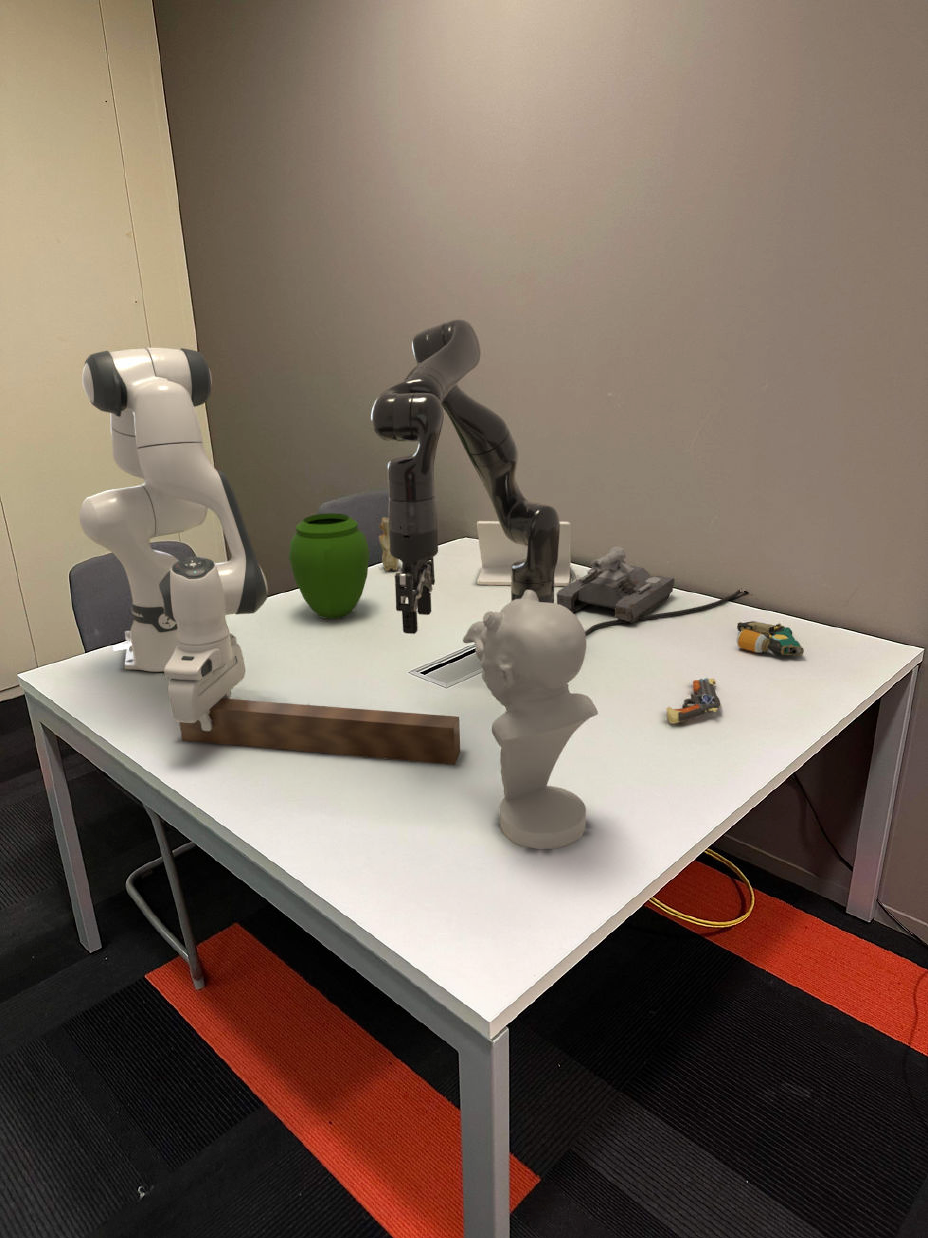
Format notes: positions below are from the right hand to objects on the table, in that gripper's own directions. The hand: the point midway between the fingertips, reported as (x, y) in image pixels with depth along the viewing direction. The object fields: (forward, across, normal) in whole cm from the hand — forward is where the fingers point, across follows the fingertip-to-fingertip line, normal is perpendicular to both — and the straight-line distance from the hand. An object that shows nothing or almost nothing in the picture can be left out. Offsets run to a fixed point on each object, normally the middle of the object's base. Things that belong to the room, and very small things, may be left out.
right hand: (417, 623), depth 138 cm
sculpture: (+24, -103, -38) cm, 112 cm away
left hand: (+21, 0, -39) cm, 44 cm away
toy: (+24, -81, +28) cm, 89 cm away
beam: (+24, 0, -19) cm, 31 cm away
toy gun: (+24, -27, +45) cm, 58 cm away
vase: (+24, -64, -40) cm, 80 cm away
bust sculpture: (+24, +15, +19) cm, 35 cm away
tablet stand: (+24, -102, +2) cm, 105 cm away
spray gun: (+24, -60, +62) cm, 90 cm away
